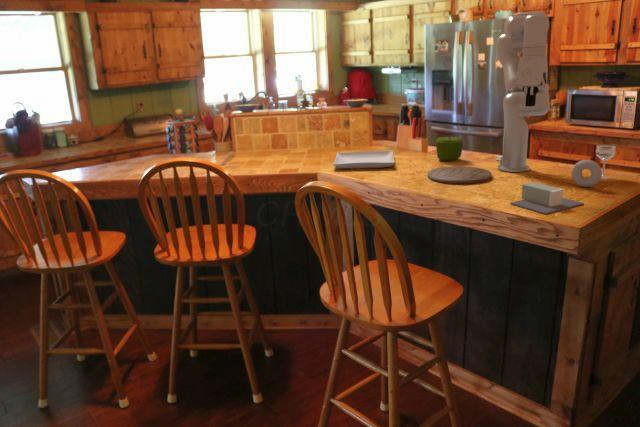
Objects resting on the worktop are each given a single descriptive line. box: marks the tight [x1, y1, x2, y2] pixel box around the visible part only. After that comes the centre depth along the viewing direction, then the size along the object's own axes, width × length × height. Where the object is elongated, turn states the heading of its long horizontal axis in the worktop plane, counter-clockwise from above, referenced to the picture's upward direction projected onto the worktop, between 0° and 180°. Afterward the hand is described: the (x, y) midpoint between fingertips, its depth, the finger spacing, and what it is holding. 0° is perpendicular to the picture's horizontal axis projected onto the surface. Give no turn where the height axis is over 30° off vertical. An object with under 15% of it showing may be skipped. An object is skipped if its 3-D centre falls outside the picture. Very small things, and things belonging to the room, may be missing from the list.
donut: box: [571, 159, 603, 188], centre depth 191 cm, size 10×4×10 cm, turn 48°
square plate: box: [333, 150, 396, 170], centre depth 246 cm, size 27×27×4 cm
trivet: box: [427, 165, 492, 186], centre depth 214 cm, size 25×25×2 cm
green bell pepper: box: [435, 136, 464, 162], centre depth 244 cm, size 12×12×11 cm
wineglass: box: [595, 144, 617, 180], centre depth 202 cm, size 7×7×12 cm
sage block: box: [521, 181, 564, 207], centre depth 175 cm, size 5×5×12 cm
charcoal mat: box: [509, 197, 584, 215], centre depth 174 cm, size 14×18×1 cm
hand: (530, 105), depth 190 cm, fingers closed
